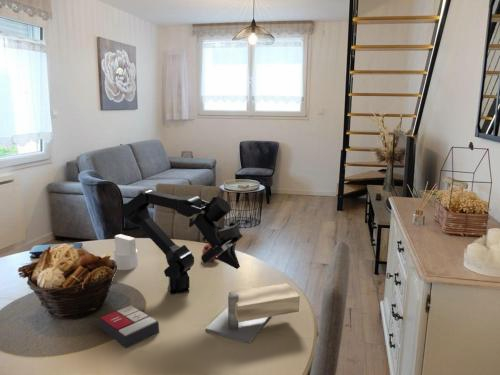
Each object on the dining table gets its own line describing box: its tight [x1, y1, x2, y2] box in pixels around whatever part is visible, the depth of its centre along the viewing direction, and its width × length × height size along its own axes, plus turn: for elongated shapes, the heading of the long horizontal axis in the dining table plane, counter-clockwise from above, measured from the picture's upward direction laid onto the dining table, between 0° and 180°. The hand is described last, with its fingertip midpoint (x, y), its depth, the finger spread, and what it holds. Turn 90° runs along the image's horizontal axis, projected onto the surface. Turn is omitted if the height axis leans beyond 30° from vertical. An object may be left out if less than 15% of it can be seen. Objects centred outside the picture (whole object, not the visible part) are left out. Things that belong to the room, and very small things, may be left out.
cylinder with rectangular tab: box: [113, 233, 139, 271], centre depth 163 cm, size 9×9×12 cm
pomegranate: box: [202, 243, 217, 262], centre depth 171 cm, size 7×7×10 cm
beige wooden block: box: [227, 282, 300, 330], centre depth 122 cm, size 9×20×10 cm, turn 110°
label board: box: [205, 306, 271, 344], centre depth 129 cm, size 14×26×1 cm, turn 155°
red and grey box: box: [98, 305, 160, 349], centre depth 120 cm, size 11×4×15 cm
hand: (238, 267), depth 133 cm, fingers closed
